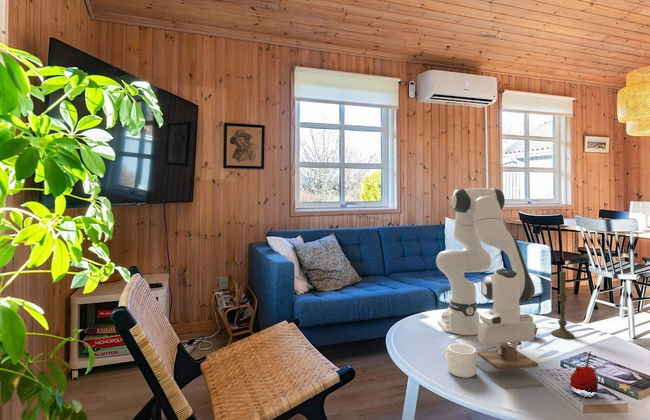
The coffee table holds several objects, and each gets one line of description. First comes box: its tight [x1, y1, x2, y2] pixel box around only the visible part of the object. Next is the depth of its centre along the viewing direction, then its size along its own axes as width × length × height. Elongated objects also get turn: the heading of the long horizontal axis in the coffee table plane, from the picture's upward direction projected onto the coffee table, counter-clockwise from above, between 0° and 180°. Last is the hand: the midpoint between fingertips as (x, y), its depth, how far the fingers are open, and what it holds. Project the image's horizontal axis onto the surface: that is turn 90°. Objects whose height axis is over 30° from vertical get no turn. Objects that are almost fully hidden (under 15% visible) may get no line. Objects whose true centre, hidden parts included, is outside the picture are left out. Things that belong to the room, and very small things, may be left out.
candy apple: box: [569, 351, 599, 393], centre depth 123 cm, size 8×7×15 cm
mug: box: [443, 343, 477, 379], centre depth 139 cm, size 12×10×9 cm
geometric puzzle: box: [533, 323, 540, 338], centre depth 173 cm, size 7×7×8 cm
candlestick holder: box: [550, 269, 575, 340], centre depth 175 cm, size 9×9×30 cm
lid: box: [476, 343, 539, 370], centre depth 137 cm, size 13×15×5 cm
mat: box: [476, 360, 545, 390], centre depth 137 cm, size 20×14×1 cm
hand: (506, 353), depth 137 cm, fingers closed on lid, 3 cm apart
